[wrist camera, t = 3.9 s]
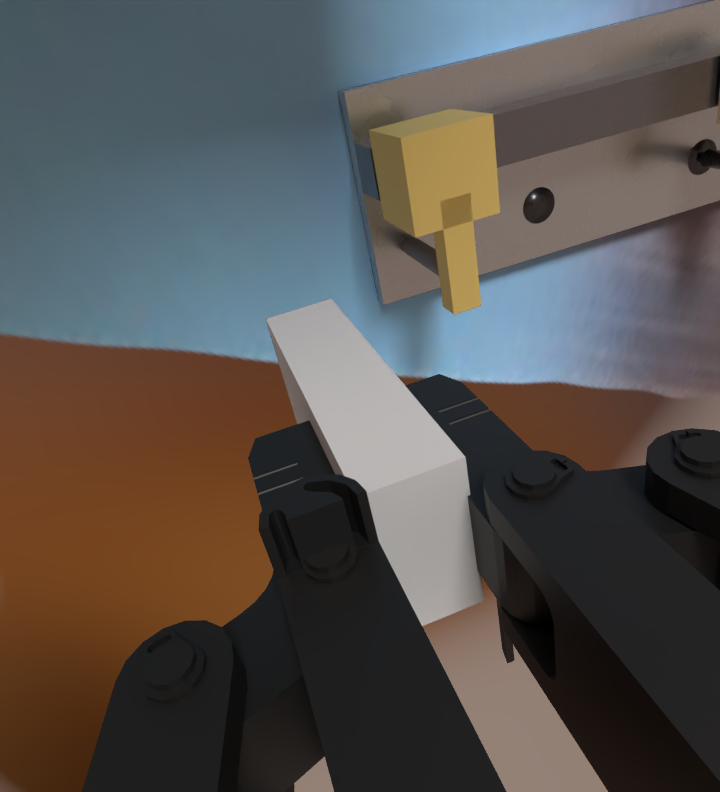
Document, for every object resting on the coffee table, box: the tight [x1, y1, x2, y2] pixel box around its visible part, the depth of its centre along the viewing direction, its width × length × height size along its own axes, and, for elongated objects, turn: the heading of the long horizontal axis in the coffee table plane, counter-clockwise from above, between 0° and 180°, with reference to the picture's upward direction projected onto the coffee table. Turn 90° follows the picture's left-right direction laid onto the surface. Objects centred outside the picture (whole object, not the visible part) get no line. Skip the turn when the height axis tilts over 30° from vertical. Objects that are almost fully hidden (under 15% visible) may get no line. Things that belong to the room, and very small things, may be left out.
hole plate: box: [338, 0, 720, 305], centre depth 31 cm, size 24×11×8 cm, turn 101°
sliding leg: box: [369, 109, 500, 314], centre depth 29 cm, size 4×8×6 cm, turn 11°
